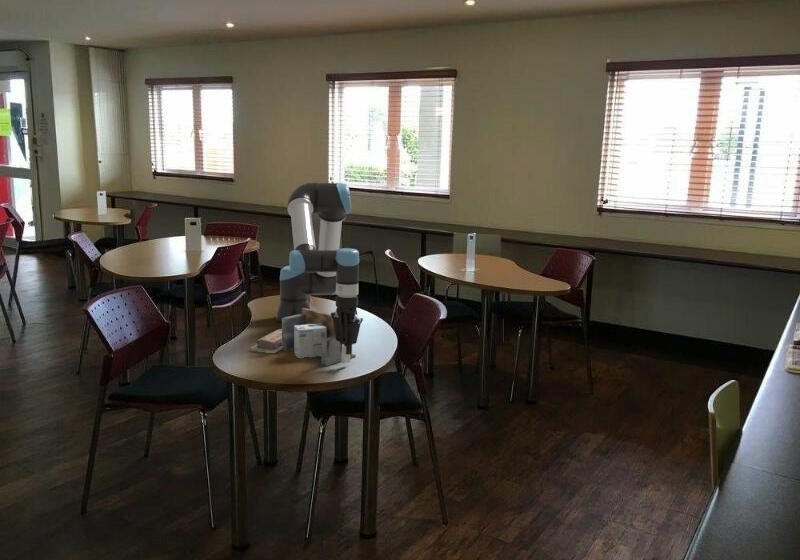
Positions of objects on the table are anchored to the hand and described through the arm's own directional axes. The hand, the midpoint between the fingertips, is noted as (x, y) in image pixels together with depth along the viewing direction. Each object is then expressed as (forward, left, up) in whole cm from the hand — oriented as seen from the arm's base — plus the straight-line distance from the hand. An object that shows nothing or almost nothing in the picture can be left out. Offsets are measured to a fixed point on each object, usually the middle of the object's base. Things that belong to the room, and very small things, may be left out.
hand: (345, 362), depth 225 cm
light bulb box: (-18, +1, -2) cm, 19 cm away
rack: (-17, +3, -2) cm, 18 cm away
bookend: (-6, 0, -2) cm, 7 cm away
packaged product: (-36, -2, -2) cm, 36 cm away
